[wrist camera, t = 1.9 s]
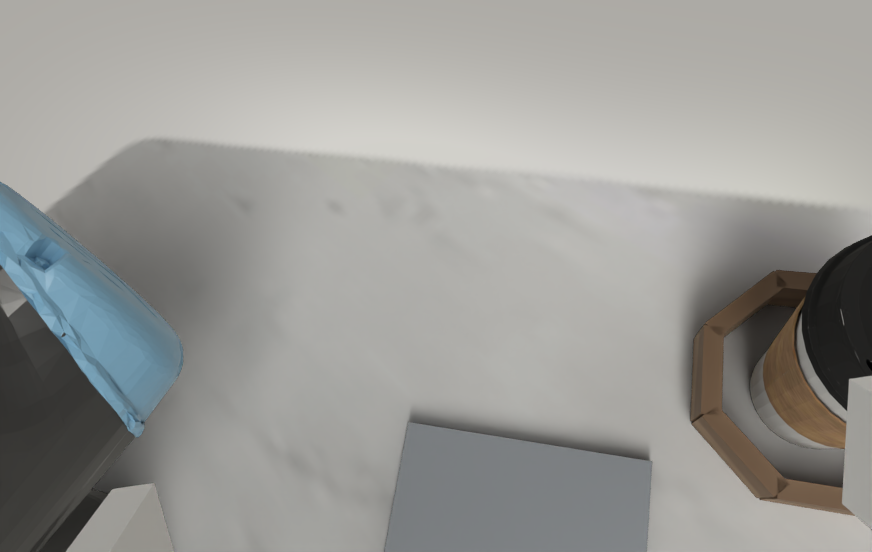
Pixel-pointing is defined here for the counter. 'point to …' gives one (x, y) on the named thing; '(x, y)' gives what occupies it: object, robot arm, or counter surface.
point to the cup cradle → (708, 398)
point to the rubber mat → (515, 496)
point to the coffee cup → (819, 354)
